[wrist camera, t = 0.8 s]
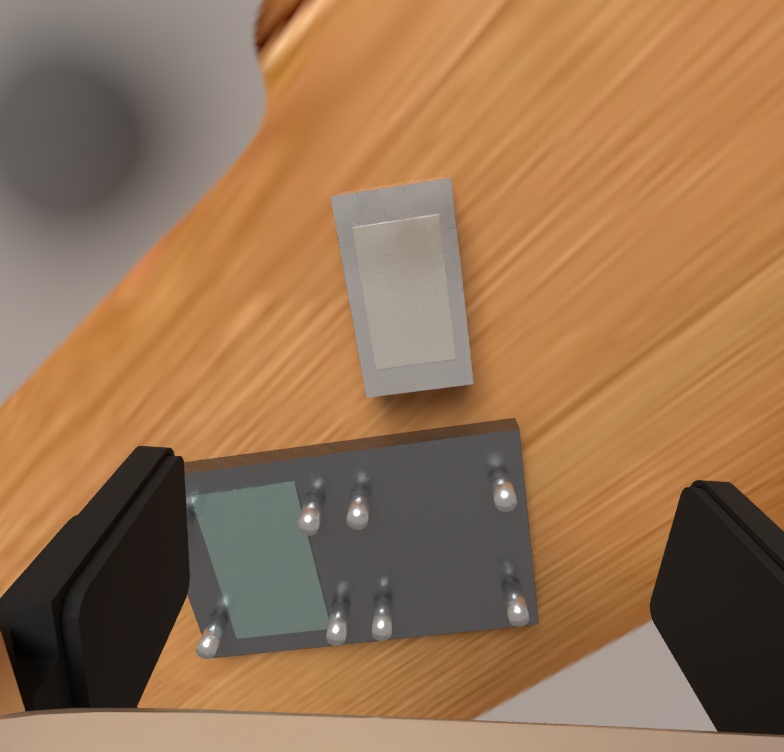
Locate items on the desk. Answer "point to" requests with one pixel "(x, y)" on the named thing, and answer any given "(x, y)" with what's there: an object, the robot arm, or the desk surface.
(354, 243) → the block
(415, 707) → the desk surface
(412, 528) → the tray
